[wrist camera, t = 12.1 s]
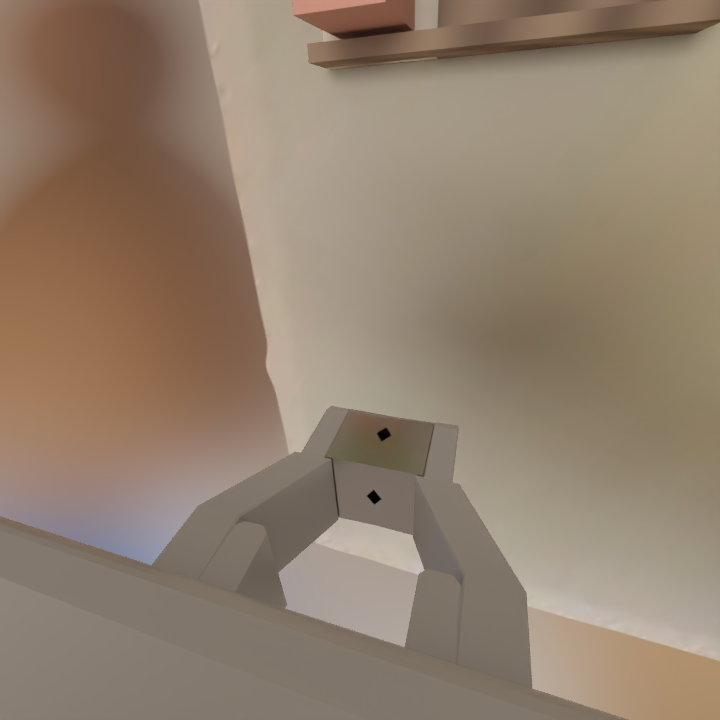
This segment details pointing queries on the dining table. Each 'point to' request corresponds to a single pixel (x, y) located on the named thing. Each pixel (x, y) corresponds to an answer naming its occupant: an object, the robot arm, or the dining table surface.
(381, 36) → the chute
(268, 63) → the dining table surface
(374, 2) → the block
